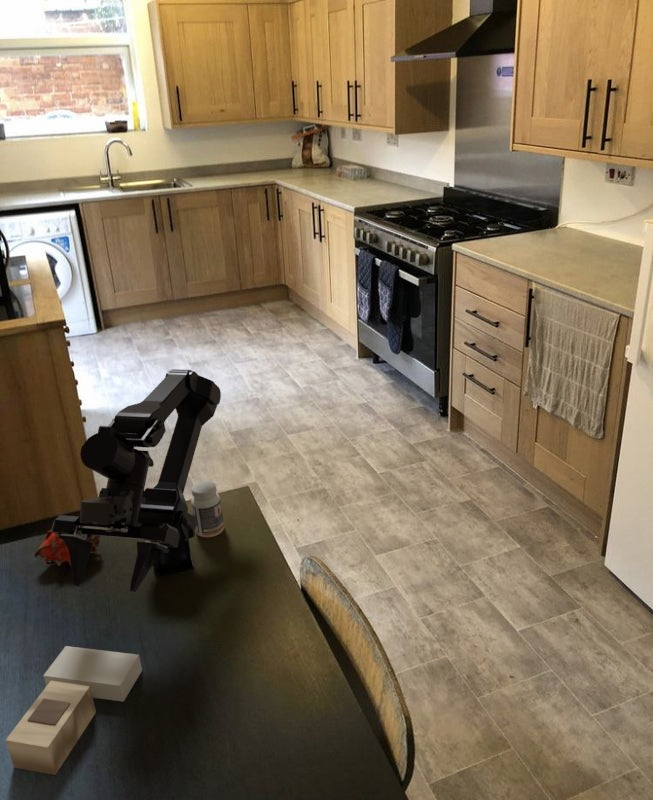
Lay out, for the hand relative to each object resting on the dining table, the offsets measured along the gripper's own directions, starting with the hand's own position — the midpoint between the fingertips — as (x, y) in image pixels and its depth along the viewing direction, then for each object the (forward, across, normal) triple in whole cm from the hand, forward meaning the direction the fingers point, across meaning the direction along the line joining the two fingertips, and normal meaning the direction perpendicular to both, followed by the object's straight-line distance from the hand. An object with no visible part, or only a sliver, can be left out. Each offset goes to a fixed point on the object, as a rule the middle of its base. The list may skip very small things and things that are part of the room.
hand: (104, 589), depth 104 cm
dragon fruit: (-6, -20, +23) cm, 31 cm away
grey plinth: (+13, 0, +3) cm, 13 cm away
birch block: (+15, 0, -2) cm, 15 cm away
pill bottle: (-15, +3, +32) cm, 35 cm away
